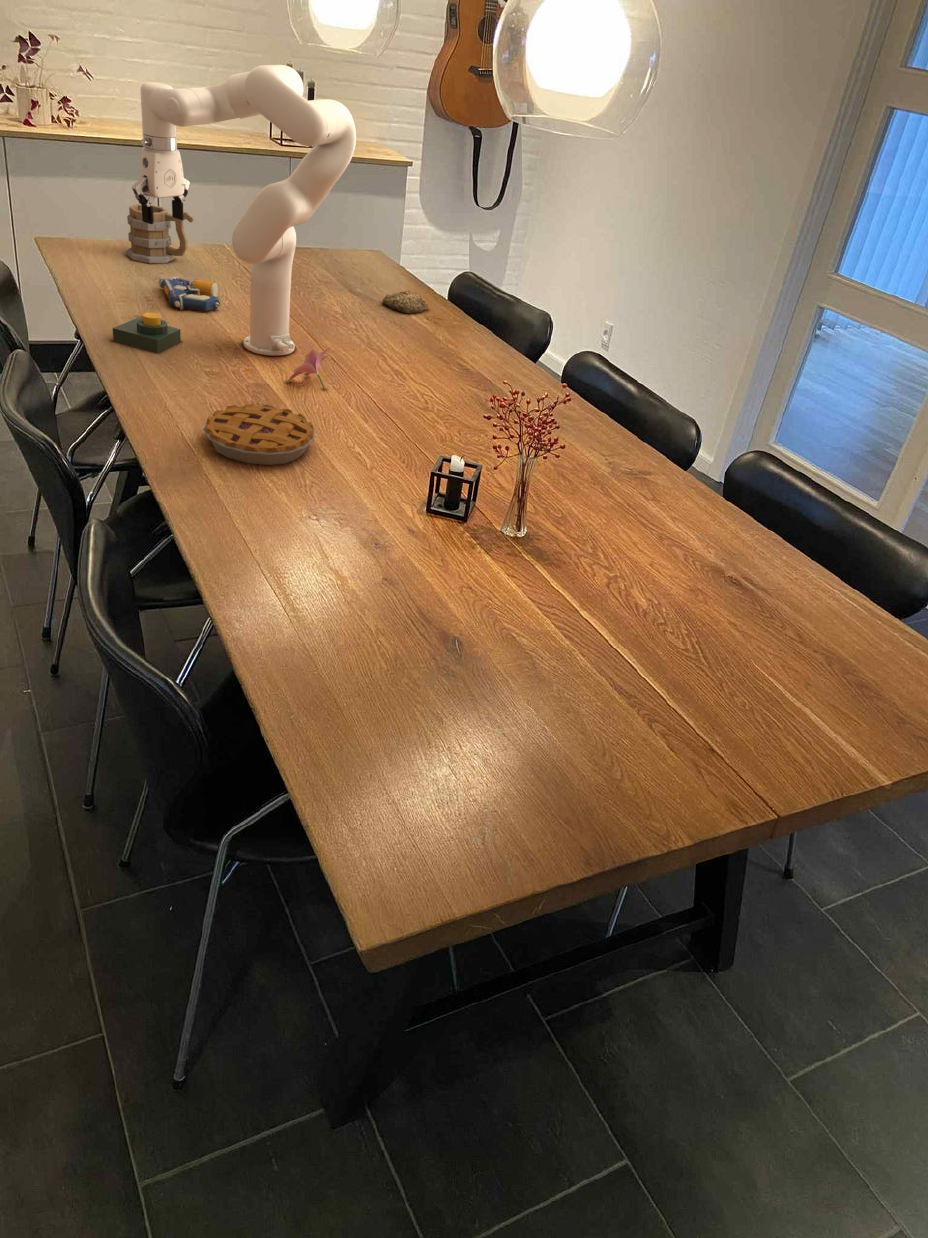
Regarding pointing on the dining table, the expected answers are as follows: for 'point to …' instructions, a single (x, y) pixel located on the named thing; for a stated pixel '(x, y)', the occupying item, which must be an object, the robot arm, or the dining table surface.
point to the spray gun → (191, 293)
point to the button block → (147, 335)
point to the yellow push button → (151, 319)
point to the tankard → (155, 236)
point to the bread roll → (406, 302)
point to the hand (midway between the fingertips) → (163, 220)
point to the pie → (259, 434)
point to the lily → (310, 364)
